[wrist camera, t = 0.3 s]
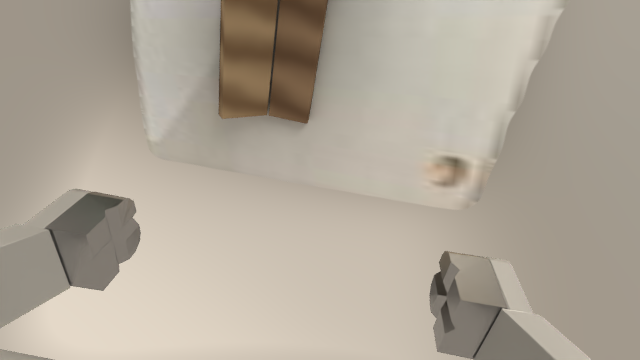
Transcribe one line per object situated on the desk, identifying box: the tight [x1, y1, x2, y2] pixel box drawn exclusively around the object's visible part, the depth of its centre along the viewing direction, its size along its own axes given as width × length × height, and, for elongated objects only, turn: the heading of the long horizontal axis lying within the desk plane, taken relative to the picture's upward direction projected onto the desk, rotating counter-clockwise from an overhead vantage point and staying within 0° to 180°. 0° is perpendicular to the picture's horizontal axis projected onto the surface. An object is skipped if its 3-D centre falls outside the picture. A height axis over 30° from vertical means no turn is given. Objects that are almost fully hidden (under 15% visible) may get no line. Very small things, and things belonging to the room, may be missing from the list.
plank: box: [219, 0, 278, 119], centre depth 49 cm, size 20×7×2 cm
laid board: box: [269, 0, 328, 123], centre depth 51 cm, size 20×6×2 cm, turn 171°
